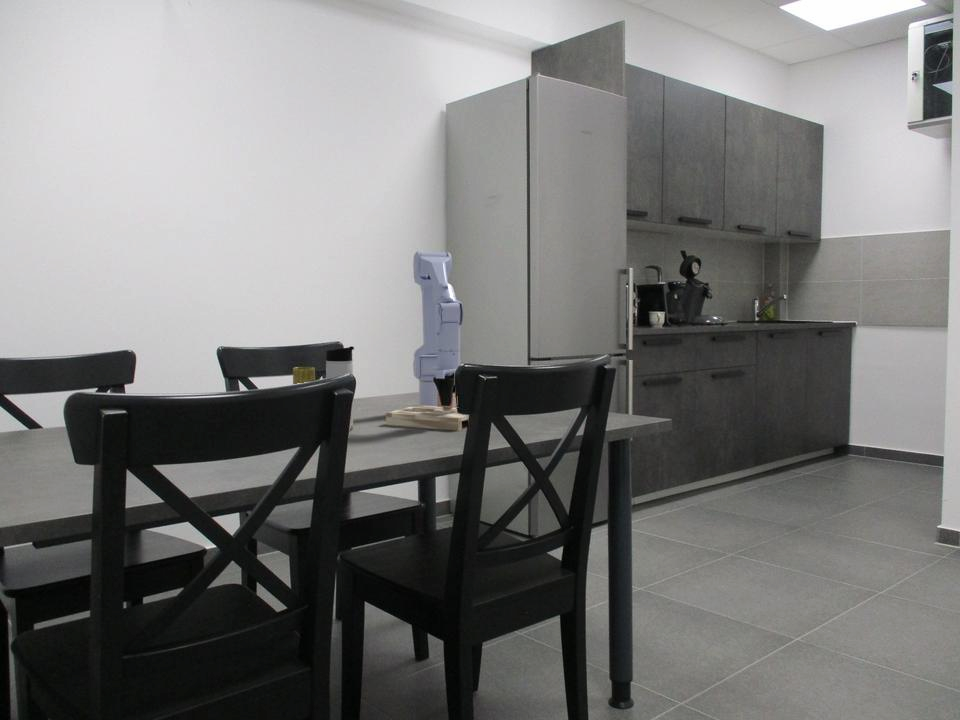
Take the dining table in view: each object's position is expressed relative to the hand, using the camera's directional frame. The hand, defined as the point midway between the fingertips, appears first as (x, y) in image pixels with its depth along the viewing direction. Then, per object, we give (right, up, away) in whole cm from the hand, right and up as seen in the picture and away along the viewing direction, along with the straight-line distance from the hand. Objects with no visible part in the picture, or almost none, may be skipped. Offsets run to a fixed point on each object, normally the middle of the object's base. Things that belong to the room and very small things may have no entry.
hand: (448, 404), depth 201 cm
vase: (-36, -5, -2) cm, 36 cm away
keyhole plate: (-3, -5, +2) cm, 6 cm away
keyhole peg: (0, -5, 0) cm, 5 cm away
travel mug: (-26, -6, -9) cm, 28 cm away
